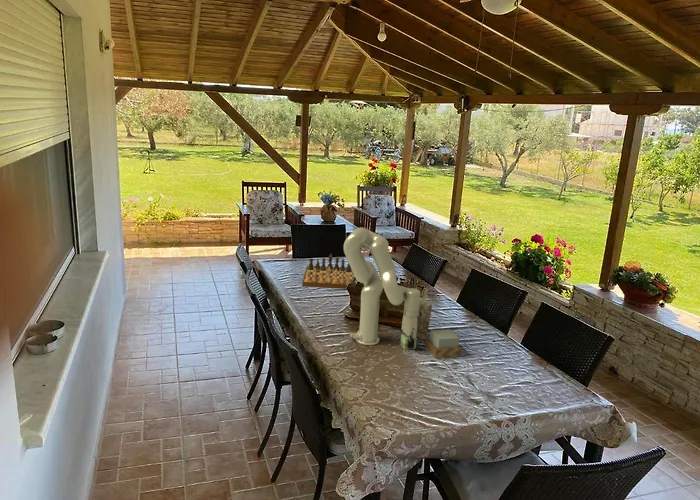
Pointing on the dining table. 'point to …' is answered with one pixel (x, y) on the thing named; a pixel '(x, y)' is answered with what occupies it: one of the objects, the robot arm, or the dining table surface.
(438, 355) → the walnut slab
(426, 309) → the stone block
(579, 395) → the dining table surface
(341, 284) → the chess set
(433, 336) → the sage green flat block
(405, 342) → the sage cube
